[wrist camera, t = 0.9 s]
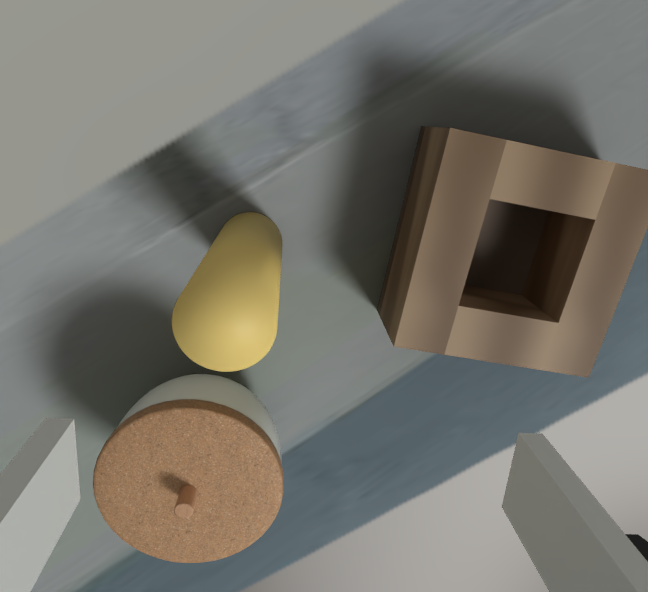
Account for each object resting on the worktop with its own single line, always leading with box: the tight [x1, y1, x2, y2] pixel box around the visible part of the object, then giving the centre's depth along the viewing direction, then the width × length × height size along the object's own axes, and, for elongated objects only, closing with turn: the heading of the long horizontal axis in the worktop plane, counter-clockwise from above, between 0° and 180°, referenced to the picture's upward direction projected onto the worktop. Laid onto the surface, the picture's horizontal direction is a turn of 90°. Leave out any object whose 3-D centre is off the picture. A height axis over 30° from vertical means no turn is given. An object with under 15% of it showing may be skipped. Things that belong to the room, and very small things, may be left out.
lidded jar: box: [93, 374, 283, 563], centre depth 33 cm, size 11×11×9 cm
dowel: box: [172, 212, 282, 372], centre depth 27 cm, size 4×4×14 cm
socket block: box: [377, 126, 648, 378], centre depth 31 cm, size 12×12×6 cm
